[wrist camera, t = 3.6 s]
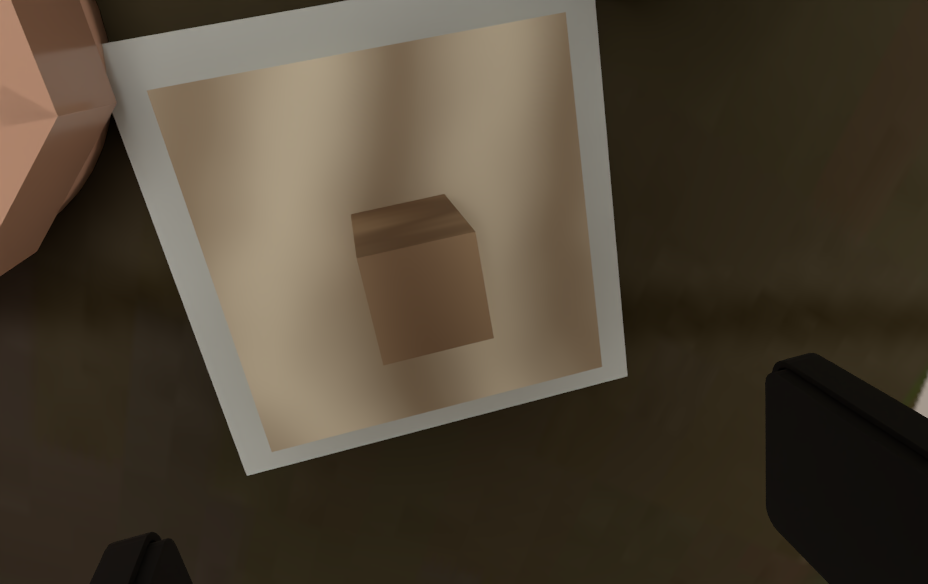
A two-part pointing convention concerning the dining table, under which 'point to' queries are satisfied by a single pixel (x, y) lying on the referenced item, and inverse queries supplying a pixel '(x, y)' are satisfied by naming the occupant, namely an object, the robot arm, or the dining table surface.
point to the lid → (392, 224)
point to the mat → (321, 35)
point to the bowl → (48, 114)
